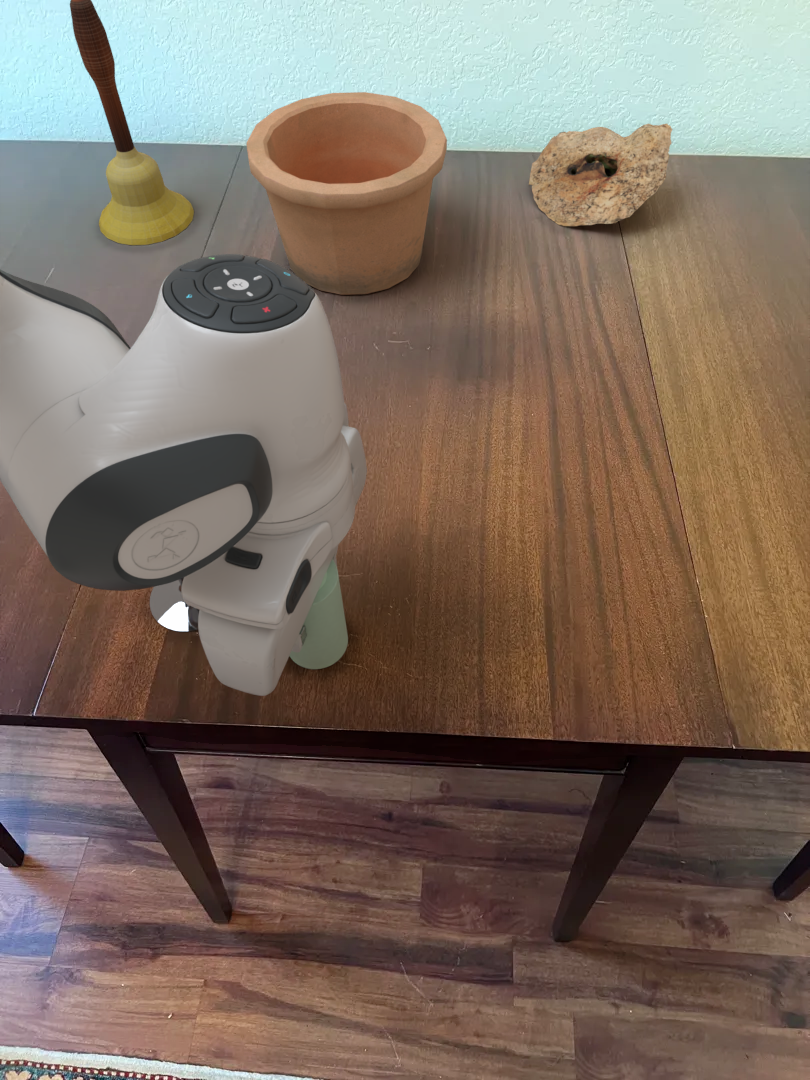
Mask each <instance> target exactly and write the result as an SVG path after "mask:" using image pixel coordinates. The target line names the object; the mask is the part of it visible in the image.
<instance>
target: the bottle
mask: <svg viewBox="0 0 810 1080" xmlns="http://www.w3.org/2000/svg"><path fill="white" fill-rule="evenodd" d="M345 615H346V614H345V609H344V602H343V595H342V590H341V581H340V576H339V570H338V565H337V566H336V564H335V562H334V561H333V559H332V561H331V563H330V565H329V568H328V570H327V572H326V573H325V575H324V577H323V580H322V583H321V586H320V588H319V590H318V592H317V595H316V597H315V599H314V601H313V604H312V606H311V608H310V611H309V613H308V615H307V617H306V620H305V622H304V624H303V626H305V628H306V633H307V637H306V639H305V642H304V644H303V646H302V649H301V651H300V652H293V651H291V653H290V656H289V658H290V659H291V661H293V662H294V663H295V664H296V665H297V666H299V667H301V668H304V669H308V670H320V669H325V668H328V667H331V666H332V665H334V664H336V663H337V662H338V661H339V660H340V659H341V658H342V657H343V656H344V654H345V653H346V651H347V648H348V645H349V635H348V629H347V623H346V616H345Z"/></svg>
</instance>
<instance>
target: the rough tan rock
mask: <svg viewBox="0 0 810 1080" xmlns="http://www.w3.org/2000/svg"><path fill="white" fill-rule="evenodd" d="M672 132H673V128H672V126H671V125H669V124H668V123H663V124H658V125H657V124H656V125H655V124H654V125H653V124H651V123H645V124H643V125H641V126H639V127H638V128H636V129H635V130H634V131H633V132H631V133H630V134H629V135H627V136H622V135H620V134H619V133H618V132H617V133H616V132H615V131H614V130H612V129H610V128H608V127H605V126H595V127H591V128H588V129H585V130H583V131H577V130H572V131H571V130H568V131H567V132H566V131H561V132H559V133H557V134H556V135H554V136H552V138H550V139H549V141H548V143H547V144H546V145H545V147H544V148H543V149H542V151H541V152H540V155H539V156H538V157H537V159H536V160H535V161H533V162H532V163H531V167H530V173H529V178H528V179H529V180H528V186H531V192H532V195H533V197H532V198H533V200H534V202H535V204H536V205H537V208H538V209H539V210H540V211H542V213H544V215H546V217H547V218H548V219H550V220H551V221H552V222H554V223H555V224H556V225H558V226H563V227H579V226H593V225H596V224H597V225H598V224H603V225H604V224H605V225H611V224H617V223H618V222H620V221H623V220H624V219H627V218H630V217H631V216H632V215H634V213H635V212H636V211H637V210H638V209H640V207H641V206H643V204H645V202H646V201H647V200H648V199H649V198H651V197H652V196H653V195H654V194H657V191H658V189H659V188H661V186H662V185H663V183H664V182H665V180H666V178H667V170H668V169H667V168H668V163H669V160H670V153H669V152H670V147H671V146H672V139H671V138H672Z"/></svg>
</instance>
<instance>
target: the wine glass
mask: <svg viewBox="0 0 810 1080" xmlns="http://www.w3.org/2000/svg"><path fill="white" fill-rule="evenodd" d="M183 579H184V577H183V578H181V579H179V580H176V581H174V582H171V583H168V584H164V585H160V586H155V587H152V590H151V593H150V596H149V610H150V614H151V615H152V617H153V619H154V620H155V621H156V622H157V623H158V624H159V625H160V626H161V627H164V628H165V629H166V630H170V631H173V632H179V633H188V632H197V631H199V630H198V617H199V609H197V608H194V607H192V606H190V605H188V604H186V602H185V601H184V599H183V596H182V591H181V589H182V583H183Z"/></svg>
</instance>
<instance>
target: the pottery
mask: <svg viewBox="0 0 810 1080" xmlns="http://www.w3.org/2000/svg"><path fill="white" fill-rule="evenodd" d="M447 150H448V139H447V136H446V134H445V132H444V129H443V127H442V124H441V123H440V120H439V119H437V117H435V116H434V115H433V114H431V113H430V112H429V111H427V110H426V109H425V108H424V107H422V106H421V105H419V104H416V103H413V102H410V101H407V100H405V99H403V98H400V97H397V96H393V95H387V94H380V93H374V92H367V91H359V92H357V91H355V92H351V91H350V92H330V93H326V94H325V93H324V94H321V95H315V96H310V97H305V98H301V99H298V100H296V101H293V102H291V103H289V104H288V103H287V104H286V105H284V106H281V107H279V108H277V109H275V110H273V111H272V112H270V113H269V114H267V116H265V117H264V118H263V119H261V120H260V121H259V122H258V123H256V124H255V125H254V128H253V129H252V132H251V133H250V135H249V137H248V139H247V141H246V151H247V158H248V165H249V170H250V174H251V175H252V176H253V177H254V178H255V179H256V181H257V182H259V184H260V185H261V186H262V187H263V188H264V189H265V193H266V194H267V198H268V201H269V204H270V208H271V210H272V213H273V216H274V221H275V224H276V225H277V229H278V232H279V235H280V238H281V242H282V245H283V248H284V251H285V255H286V257H287V261H288V264H289V269H290V271H291V272H292V273H294V274H295V275H297V276H298V277H299V278H301V279H302V280H303V281H304V282H306V283H307V284H308V285H309V286H310V287H313V288H315V289H316V290H318V291H321V292H326V293H332V294H336V295H341V296H348V295H349V296H350V295H351V296H353V295H356V296H357V295H368V294H373V293H377V292H381V291H385V290H388V289H390V288H392V287H394V286H396V285H398V284H399V283H401V282H403V281H404V280H406V279H408V278H409V277H410V276H411V275H412V273H413V272H414V271H416V269H417V268H418V267H419V266H420V263H421V259H422V255H423V249H424V248H423V246H424V240H425V233H426V227H427V220H428V215H429V209H430V201H431V194H432V189H433V182H434V178H435V177H436V176H437V175H438V174H439V173H440V172H441V171H442V169H443V167H444V162H445V159H446V158H445V157H446V154H447Z"/></svg>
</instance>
